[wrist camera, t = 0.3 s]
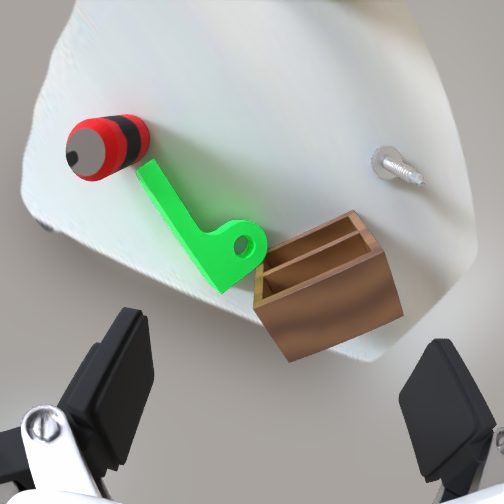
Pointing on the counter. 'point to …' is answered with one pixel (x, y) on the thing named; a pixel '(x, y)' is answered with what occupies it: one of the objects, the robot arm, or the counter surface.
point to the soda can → (106, 145)
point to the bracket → (205, 234)
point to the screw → (393, 166)
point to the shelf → (325, 288)
